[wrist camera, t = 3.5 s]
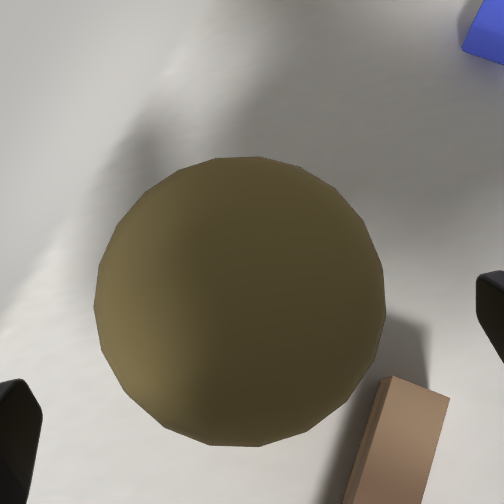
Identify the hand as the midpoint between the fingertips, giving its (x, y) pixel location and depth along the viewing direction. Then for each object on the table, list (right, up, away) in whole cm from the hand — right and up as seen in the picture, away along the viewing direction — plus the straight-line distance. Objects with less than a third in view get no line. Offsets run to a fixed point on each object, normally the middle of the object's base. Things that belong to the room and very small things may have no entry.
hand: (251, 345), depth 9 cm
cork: (+1, -2, +9) cm, 9 cm away
